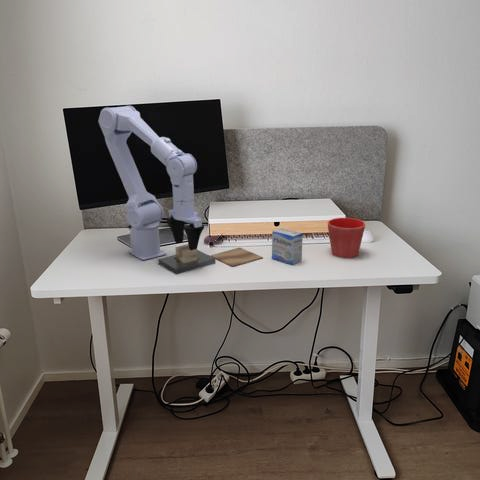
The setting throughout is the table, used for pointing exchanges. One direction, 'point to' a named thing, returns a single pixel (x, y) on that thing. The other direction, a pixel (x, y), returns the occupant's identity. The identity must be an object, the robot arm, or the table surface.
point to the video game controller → (210, 239)
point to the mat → (236, 257)
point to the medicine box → (287, 246)
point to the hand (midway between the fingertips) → (186, 245)
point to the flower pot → (345, 236)
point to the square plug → (185, 254)
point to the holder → (179, 267)
